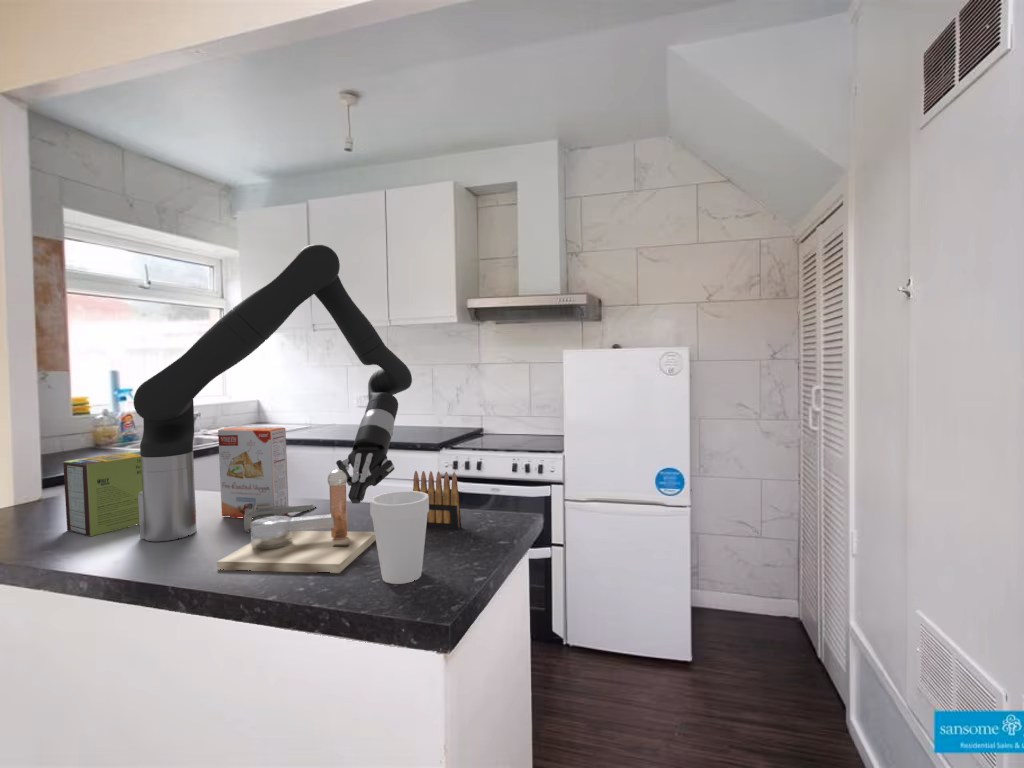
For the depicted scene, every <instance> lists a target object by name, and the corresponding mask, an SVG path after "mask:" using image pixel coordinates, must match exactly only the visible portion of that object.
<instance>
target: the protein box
mask: <svg viewBox="0 0 1024 768" xmlns="http://www.w3.org/2000/svg"><path fill="white" fill-rule="evenodd" d="M62 464H63V466H62V467H63V480H64V482H63V483H64V497H65V498H64V499H65V500H64V501H65V515H66V516H65V517H66V519H65V520H66V531H68V532H71V533H76V534H79V535H84V536H87V537H94V536H97V535H101V534H106V533H110V532H114V531H117V530H121V528H122V529H125V527H126V528H129V526H130V527H133V525H134V526H137V525H136V524H138V525H139V507H138V493H139V492H142V474H141V471H142V470H141V455H140V450H137V449H136V450H132V451H125V452H119V453H109V454H104V455H97V456H91V457H85V458H83V457H82V458H77V459H70V460H65V461H63V462H62Z"/></svg>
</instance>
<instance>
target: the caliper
mask: <svg viewBox="0 0 1024 768" xmlns="http://www.w3.org/2000/svg"><path fill="white" fill-rule="evenodd" d="M315 507H317V506H316V505H314V504H313V503H311V504H310V503H308V504H298V505H297V504H295V505H288V506H285V507H275V508H274V506H265V507H257V503H249V504H248V508H247V509H245V515H244V519H243V527H244V528H243V529H244V532H245V531H250V532H251V525H250V524H251V522H253V521H255V520H258V519H261V518H265V517H271V516H273V515H275V514H284V513H288V514H290V513H299V512H300V513H301V512H308V511H307V510H309V511H311V510H310V509H312V510H313V509H316V508H315ZM252 517H253V519H252Z"/></svg>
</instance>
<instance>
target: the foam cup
mask: <svg viewBox="0 0 1024 768" xmlns="http://www.w3.org/2000/svg"><path fill="white" fill-rule="evenodd" d="M369 504H370V505H369V507H370V508H369V509H370V512H369V513H370V517H371V519H372V524H373V526H372V527H373V532H375V538H376V540H375V543H376V549H377V554H378V561H379V566H380V572H381V573H380V574H381V577H382V580H383V581H384V582H385V583H388V584H392V585H402V584H407V583H412V582H414V580H415V581H417V580H418V579H420V578H421V577H422V573H423V563H424V555H425V553H424V552H425V542H426V535H427V534H426V533H427V528H426V525H427V515H428V512H429V497H428V494H426V493H424V492H419V491H413V490H396V491H388V492H385V493H384V492H383V493H380V494H376V495H374V496H372V497H371V498H370V500H369Z"/></svg>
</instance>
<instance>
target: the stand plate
mask: <svg viewBox="0 0 1024 768" xmlns="http://www.w3.org/2000/svg"><path fill="white" fill-rule="evenodd" d="M347 534H348V535H347V536H345V537H342V538H332V537H331V530H304V531H294V532H292V541H291V542H290V543H288V544H286V545H284V546H280V547H276V548H270V549H256V548H253V547H252V546H251V542H249V543H248V544H246V545H244V546H242V547H240V548H239V549H236V550H235V551H233V552H232V553H230V554H227V556H224V557H223V558H221V559H219V560H217V562H216V564H217V565H216V566H217V571H236V570H248V571H247V572H278V573H279V572H280V573H281V572H282V573H287V572H288V573H317V572H330V573H329V574H340V573H341V572H342V571H344V569H345V568H347V567H348V566H349V565H350V564H351V563H352V562H354V561H355V560H356V559H357V558H358V556H359V557H360V555H361V554H362V553H363V552H364V551H366V550H367V549H368V548H369V547H370V546H371V545H372V544H373V543H374V542H376V538H375V532H374V531H352V530H351V531H348V530H347ZM220 569H221V570H220ZM223 569H224V570H223ZM249 570H251V571H249Z"/></svg>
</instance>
